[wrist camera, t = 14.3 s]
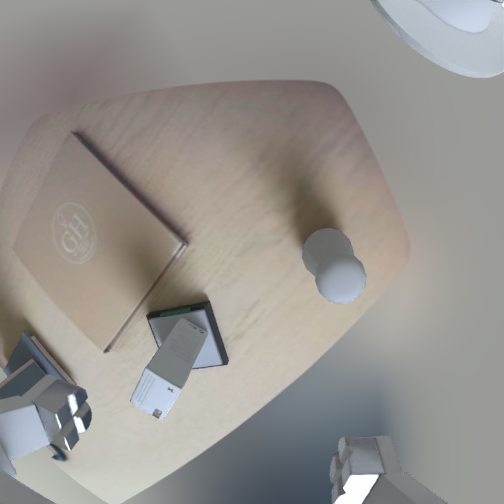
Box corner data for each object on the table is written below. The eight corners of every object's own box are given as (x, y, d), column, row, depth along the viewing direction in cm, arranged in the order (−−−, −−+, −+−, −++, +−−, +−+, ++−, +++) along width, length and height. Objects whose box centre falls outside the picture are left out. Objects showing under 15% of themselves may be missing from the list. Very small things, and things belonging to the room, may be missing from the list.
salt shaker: (332, 215, 36) (355, 232, 24) (357, 255, 37) (389, 289, 24) (291, 243, 38) (293, 273, 25) (317, 281, 38) (331, 328, 26)
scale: (149, 312, 42) (144, 317, 40) (209, 300, 40) (206, 306, 39) (170, 367, 43) (166, 374, 42) (229, 360, 42) (226, 367, 40)
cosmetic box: (181, 314, 39) (142, 363, 27) (211, 333, 39) (183, 388, 27) (163, 348, 41) (125, 400, 29) (191, 365, 41) (161, 422, 29)
